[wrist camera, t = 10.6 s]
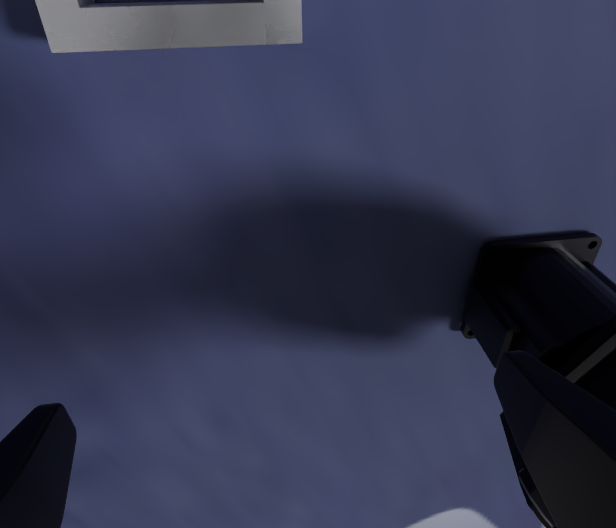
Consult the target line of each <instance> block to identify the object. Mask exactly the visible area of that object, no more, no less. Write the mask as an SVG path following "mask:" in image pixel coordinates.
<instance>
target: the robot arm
mask: <svg viewBox="0 0 616 528" xmlns="http://www.w3.org/2000/svg"><path fill="white" fill-rule="evenodd" d="M589 243H590V244H589ZM601 244H602V239H601V238H600V237H598V236H597V235H596V234H594V233H586V234H574V235H562V236H551V237H539V238H528V239H516V240H505V241H493V242H488V243H486V244H485V245H484V246H483V247H482V248H481V250H480V254H479V258H478V262H477V266H476V270H475V274H474V278H473V280H472V282H471V283H470V287H469V291H468V295H467V299H466V303H465V307H464V312H463V322H462V326H461V332H462V334H463V335H464V337H465V338H467V339H472V338H476V339H477V341H478V342H479V344H480V345H481V347H482V348H483V350H484V352H485V353H486V355H487V356H488V358H489V360H490V361H491V363H492V364H493V366H494V367H495V368H496V369H497V370H496V373H495V376H494V386H495V390H496V392H497V395H498V397H499V400H500V403H501V405H502V408H503V412H502V413H501V414H500V417H501V421H502V424H503V428H504V431H505V434H506V438H507V441H508V445H509V448H510V452H511V455H512V458H513V462H514V465H515V469H516V472H517V475H518V479H519V482H520V486H521V488H522V491H523V493H524V496H525V498H526V501H527V504H528V506H529V507H530V508H531V509H532V510H533V511H534V513H535V514H536V516H537V517H538V519H539V520H540V521H541V522H542V524H543V525H544V526H545V527H546V528H616V284H615V283H613V282H612V281H611V280H610V279H609V278H608V277H606V276H605V275H604V274H603V273H602V272H601V271H599V270H598V269H597V268H596V267H595V266H594V265H593V263H594V260H595V258H596V256H597V253H598V251H599V249H600V246H601ZM492 250H494V251H493V252H492V253H490V254H489V252H490V251H492ZM75 445H76V428H75V426H74V424H73V422H72V420H71V418H70V416H69V415H68V413H67V411H66V409H65V407H64V406H63V405H62V404H60V403H52V404H44V405H39V406H37V407H36V408H34V409H33V410H32V411H31V412H30V413H29V414H28V415H27V416H26V417H25V418H24V419H23V420H22V421H21V422H20V423H19V424H18V425H17V426H16V427H15V428H14V429H13V430H12V431H11V432H10V433H9V434H8V435H7V436H6V437H5V438H4V439H3V440H2V441H1V442H0V528H60V527H61V523H62V519H63V514H64V509H65V504H66V498H67V492H68V486H69V480H70V474H71V468H72V462H73V456H74V450H75Z"/></svg>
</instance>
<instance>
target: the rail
mask: <svg viewBox="0 0 616 528" xmlns="http://www.w3.org/2000/svg"><path fill="white" fill-rule="evenodd" d="M35 2H36V5H37V8H38V11H39V14H40V17H41V21H42V24H43V27H44V30H45V33H46V36H47V39H48V42H49V45H50V49H51V52H52V53H62V52H88V51H113V50H139V49H165V48H190V47H216V46H242V45H268V44H293V43H302V10H301V0H197V1H162V2H127V3H95V1H94V0H35Z"/></svg>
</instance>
